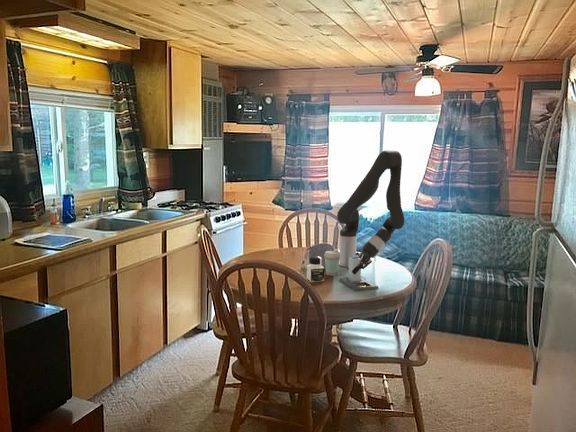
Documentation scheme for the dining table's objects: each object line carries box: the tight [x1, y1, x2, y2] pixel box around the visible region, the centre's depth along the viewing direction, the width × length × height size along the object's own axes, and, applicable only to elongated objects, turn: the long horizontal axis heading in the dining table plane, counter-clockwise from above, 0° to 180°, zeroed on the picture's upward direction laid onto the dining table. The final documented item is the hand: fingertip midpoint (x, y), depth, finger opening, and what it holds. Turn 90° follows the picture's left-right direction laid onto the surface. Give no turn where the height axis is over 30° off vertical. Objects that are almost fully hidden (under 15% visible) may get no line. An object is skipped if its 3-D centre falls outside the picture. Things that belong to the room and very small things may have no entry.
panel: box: [339, 275, 379, 292], centre depth 234 cm, size 18×12×2 cm, turn 18°
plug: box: [347, 255, 362, 282], centre depth 237 cm, size 4×4×13 cm
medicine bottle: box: [306, 255, 325, 283], centre depth 241 cm, size 7×7×12 cm
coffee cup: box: [323, 250, 340, 277], centre depth 251 cm, size 8×8×12 cm
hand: (351, 271), depth 237 cm, fingers closed on plug, 4 cm apart
